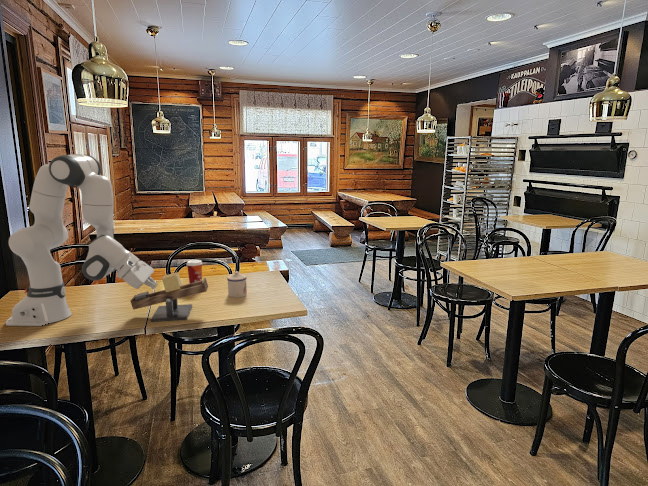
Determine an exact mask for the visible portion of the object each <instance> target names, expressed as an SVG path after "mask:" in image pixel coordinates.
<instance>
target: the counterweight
mask: <svg viewBox="0 0 648 486" xmlns="http://www.w3.org/2000/svg"><path fill="white" fill-rule="evenodd" d="M149 294H150V292H149V291H145V292H144V291H143V292H140V293H137V294H135V295H136V296H135V295H134V296H135V300H136V301H137V300H141V299H145V298H149V297H150V295H149Z"/></svg>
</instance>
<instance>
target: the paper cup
mask: <svg viewBox="0 0 648 486" xmlns="http://www.w3.org/2000/svg"><path fill="white" fill-rule="evenodd" d="M186 266H187V275H188V280H189V281H188V282H189V284H190V283H194V282H199V281H203V261H202V260H201V259H191V260H188V261H187V262H186Z"/></svg>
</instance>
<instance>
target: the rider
mask: <svg viewBox="0 0 648 486" xmlns="http://www.w3.org/2000/svg"><path fill="white" fill-rule="evenodd" d="M161 282H162V284H163V287H164V290H165V291H166V293H170V292H174V291H178V290H182V289H183V286H182V285H183V283H182V280H181V277H180V274H179V272H178V271H177V272H173V273H170V274H165V275H163V276H162V277H161Z"/></svg>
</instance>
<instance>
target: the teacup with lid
mask: <svg viewBox="0 0 648 486" xmlns="http://www.w3.org/2000/svg"><path fill="white" fill-rule="evenodd" d="M226 280H227V292H228V297H229V298H233V299H236V298H237V299H239V298H240V299H241V298H244V297H245V296H247V292H248V291H247V289H248V288H247V276H246V275H245V274H242V273H240V272H239V271H237V270H236V271H234V273H233V274H229V276H227V278H226Z"/></svg>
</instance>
